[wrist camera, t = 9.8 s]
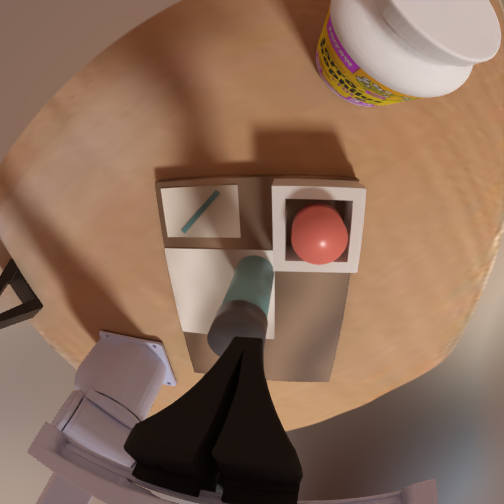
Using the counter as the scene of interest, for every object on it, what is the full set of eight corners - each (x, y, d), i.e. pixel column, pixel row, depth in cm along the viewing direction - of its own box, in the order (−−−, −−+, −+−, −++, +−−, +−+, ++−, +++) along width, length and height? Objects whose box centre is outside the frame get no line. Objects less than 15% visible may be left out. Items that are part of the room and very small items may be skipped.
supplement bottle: (294, 57, 15) (292, -42, 4) (357, 13, 13) (416, -83, 1) (359, 126, 17) (459, 129, 5) (418, 79, 14) (538, 53, 3)
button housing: (275, 254, 21) (273, 271, 19) (274, 178, 18) (271, 185, 16) (351, 256, 20) (357, 272, 18) (357, 181, 17) (366, 188, 15)
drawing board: (196, 365, 30) (194, 373, 28) (160, 180, 21) (154, 183, 20) (328, 375, 27) (329, 382, 26) (355, 177, 18) (359, 180, 17)
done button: (291, 249, 19) (291, 264, 17) (291, 201, 17) (291, 210, 15) (340, 250, 18) (345, 265, 16) (343, 202, 17) (350, 212, 15)
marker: (236, 288, 23) (211, 359, 15) (233, 253, 21) (203, 319, 14) (275, 290, 22) (264, 364, 15) (275, 254, 21) (263, 324, 14)
